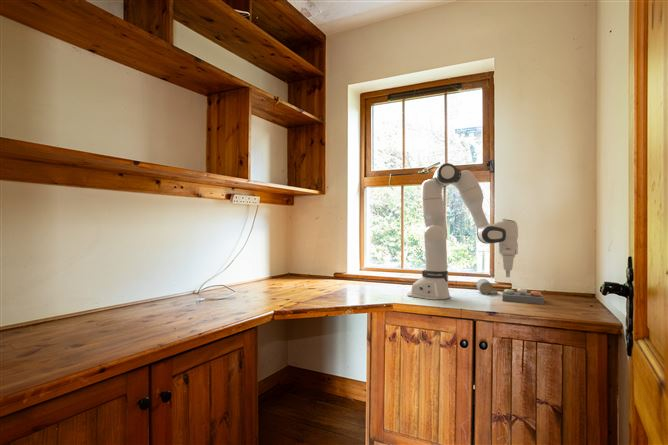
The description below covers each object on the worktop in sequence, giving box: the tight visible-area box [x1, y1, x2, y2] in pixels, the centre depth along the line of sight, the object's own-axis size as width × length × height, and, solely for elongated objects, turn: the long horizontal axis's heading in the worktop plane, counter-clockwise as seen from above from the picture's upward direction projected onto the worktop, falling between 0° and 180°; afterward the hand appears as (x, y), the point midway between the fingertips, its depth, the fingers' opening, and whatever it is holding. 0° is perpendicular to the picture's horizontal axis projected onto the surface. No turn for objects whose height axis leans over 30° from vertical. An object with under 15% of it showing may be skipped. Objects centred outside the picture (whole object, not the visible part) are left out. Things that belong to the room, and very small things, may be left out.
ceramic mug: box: [475, 278, 499, 295], centre depth 193 cm, size 11×8×8 cm
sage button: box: [503, 288, 515, 294], centre depth 177 cm, size 4×4×4 cm
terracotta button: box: [530, 290, 542, 296], centre depth 172 cm, size 4×4×4 cm
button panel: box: [501, 290, 545, 305], centre depth 174 cm, size 18×12×3 cm, turn 63°
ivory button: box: [516, 287, 528, 295], centre depth 175 cm, size 4×4×4 cm
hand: (507, 277), depth 177 cm, fingers closed
